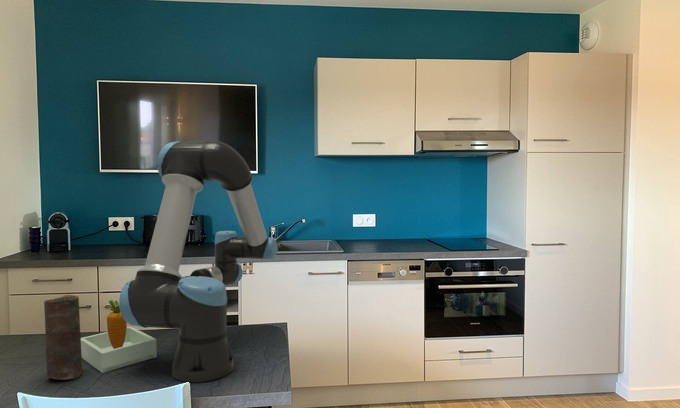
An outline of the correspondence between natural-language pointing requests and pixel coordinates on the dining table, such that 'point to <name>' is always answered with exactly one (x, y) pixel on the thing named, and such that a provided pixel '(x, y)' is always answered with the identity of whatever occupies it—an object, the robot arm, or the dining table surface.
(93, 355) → the bin
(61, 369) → the candle
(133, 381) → the dining table surface
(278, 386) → the dining table surface
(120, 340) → the carrot
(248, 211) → the robot arm
